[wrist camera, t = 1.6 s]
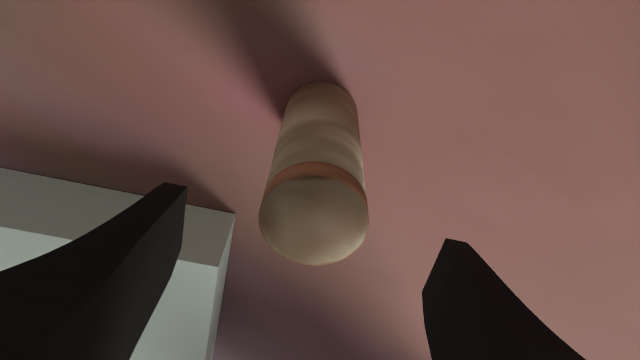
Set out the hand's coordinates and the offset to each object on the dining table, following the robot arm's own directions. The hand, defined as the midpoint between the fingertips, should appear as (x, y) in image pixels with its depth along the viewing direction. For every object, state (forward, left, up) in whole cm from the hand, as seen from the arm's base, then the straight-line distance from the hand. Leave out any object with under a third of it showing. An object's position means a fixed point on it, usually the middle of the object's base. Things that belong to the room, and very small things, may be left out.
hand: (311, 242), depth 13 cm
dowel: (0, 0, -9) cm, 9 cm away
